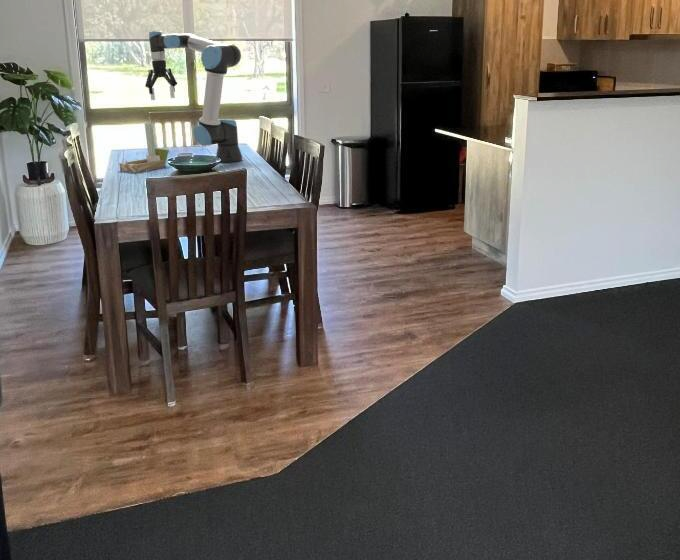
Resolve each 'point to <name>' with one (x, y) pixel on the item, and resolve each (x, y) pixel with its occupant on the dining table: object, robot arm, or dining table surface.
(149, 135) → the puller
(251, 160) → the dining table surface
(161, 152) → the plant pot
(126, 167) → the wooden tray
